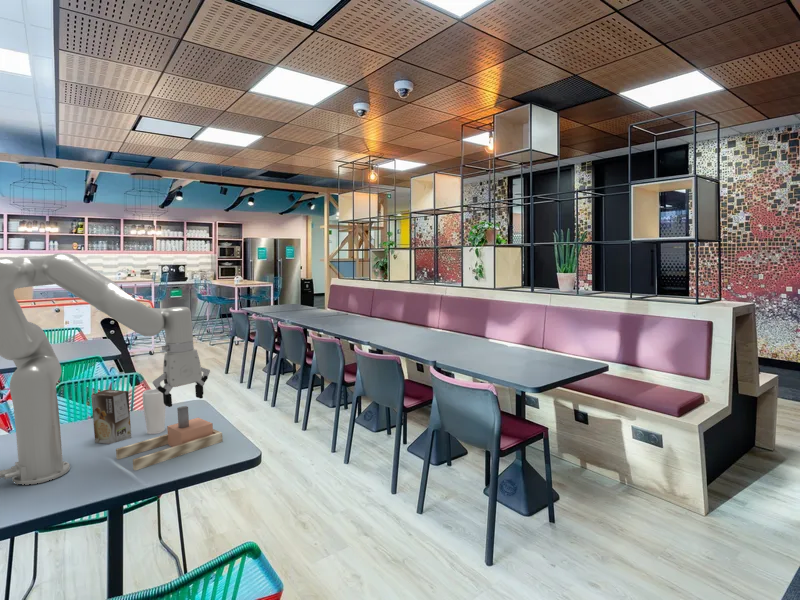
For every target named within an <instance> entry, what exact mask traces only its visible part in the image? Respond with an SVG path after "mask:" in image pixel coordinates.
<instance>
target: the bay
mask: <svg viewBox="0 0 800 600" xmlns="http://www.w3.org/2000/svg"><path fill="white" fill-rule="evenodd" d="M222 442H223V432H221V431H219V430H218V429H214V428H213V434H212V435H209V436H206V437H203V438H199V439H196V440H193V441H190V442H187V443H184V444H180V445H177V446H174V447H171V446H170V447H167V448H165V449H162V450H158V451H155V452H153V453H150V454H146V455H143V456H140V457H136V458H133V459H132V470H133V471H138V470H141V469H144V468H147V467H150V466H155V465H157V464H159V463H163V462H165V461H168V460H171V459H174V458H178V457H180V456H184V455H186V454H190V453H192V452H195V451H199V450H202V449H204V448H207V447H210V446H213V445H216V444H220V443H222ZM167 445H168V433H166V434H163V435H159V436H156V437H152V438H149V439H144V440H141V441H138V442H135V443H132V444H129V445H124V446H121V447H118V448H116V449H115V459H117V460H121V459H124V458H127V457H131V456H134V455H137V454H140V453H144V452H147V451H150V450H151V451H152V450H154V449H157V448H160V447H164V446H167Z"/></svg>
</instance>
